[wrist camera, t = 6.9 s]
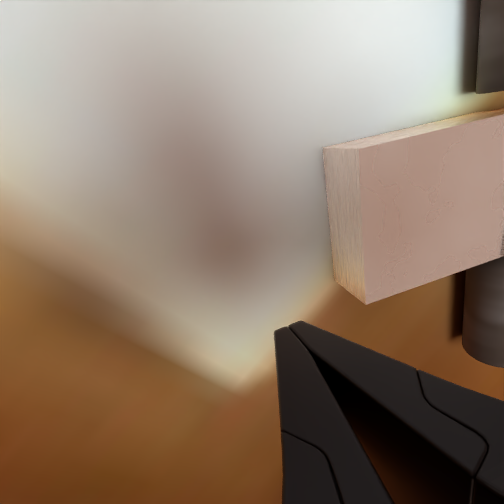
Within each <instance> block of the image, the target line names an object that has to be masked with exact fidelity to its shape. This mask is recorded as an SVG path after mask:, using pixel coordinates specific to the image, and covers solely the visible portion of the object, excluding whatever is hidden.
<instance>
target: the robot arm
mask: <svg viewBox="0 0 504 504" xmlns="http://www.w3.org/2000/svg"><path fill="white" fill-rule="evenodd" d="M274 341H275V356H276V370H277V384H278V398H279V413H280V427H281V444H282V466H283V485H282V504H504V401H502V400H499V399H496V398H493V397H490V396H487V395H484V394H481V393H478V392H476V391H473V390H470V389H467V388H464V387H461V386H459V385H456V384H454V383H451V382H449V381H446V380H443V379H441V378H438V377H436V376H433V375H431V374H429V373H426V372H424V371H421V370H416V368H414V367H412V366H409V365H407V364H404V363H402V362H400V361H397V360H395V359H392V358H390V357H388V356H385V355H383V354H380V353H378V352H376V351H373V350H371V349H368V348H366V347H364V346H361V345H359V344H356V343H354V342H352V341H349V340H347V339H344V338H342V337H340V336H337V335H335V334H332V333H330V332H328V331H325V330H323V329H320V328H318V327H316V326H313V325H311V324H309V323H306V322H304V321H298V322H295V323H293V324H290V325H289V326H288V327H283V328H280V329H278V330H275V331H274Z"/></svg>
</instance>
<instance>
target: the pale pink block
mask: <svg viewBox="0 0 504 504" xmlns="http://www.w3.org/2000/svg"><path fill="white" fill-rule="evenodd" d="M322 150H323V161H324V172H325V182H326V193H327V204H328V215H329V226H330V237H331V248H332V259H333V270H334V280H335V281H336V282H337V283H339V284H340V285H341V286H343V287H344V288H345V289H346V290H348V291H349V292H350V293H351V294H353V295H354V296H355V297H357V298H358V299H359V300H360V301H362V302H363V303H364V304H366V305H367V304H369V303H372V302H375V301H378V300H381V299H384V298H386V297H389V296H392V295H395V294H398V293H401V292H403V291H406V290H409V289H412V288H415V287H418V286H420V285H423V284H426V283H429V282H432V281H435V280H437V279H440V278H443V277H446V276H449V275H452V274H454V273H457V272H460V271H463V270H466V269H469V268H471V267H474V266H477V265H480V264H483V263H486V262H488V261H491V260H494V259H497V258H500V257H503V256H504V108H503V109H497V110H491V111H484V112H474V113H470V114H466V115H461V116H457V117H453V118H448V119H444V120H440V121H435V122H431V123H427V124H422V125H418V126H414V127H409V128H405V129H401V130H396V131H392V132H388V133H383V134H379V135H375V136H371V137H366V138H362V139H358V140H353V141H349V142H345V143H340V144H336V145H332V146H327V147H323V148H322Z"/></svg>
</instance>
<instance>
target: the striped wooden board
mask: <svg viewBox="0 0 504 504" xmlns="http://www.w3.org/2000/svg"><path fill="white" fill-rule="evenodd" d="M498 91H504V0H481V8H480V26H479V44H478V62H477V80H476V94H483V93H491V92H498ZM462 345H463V348H464V349H465V351H466V352H467V353H468V354H469V355H470V356H472V357H473V358H475V359H476V360H478V361H480V362H482V363H485V364H488V365H491V366H495V367H501V368H504V256H503V257H500V258H497V259H494V260H491V261H488V262H486V263H483V264H480V265H477V266H474V267H471V268H469V269H466V278H465V296H464V314H463V332H462Z"/></svg>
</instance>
